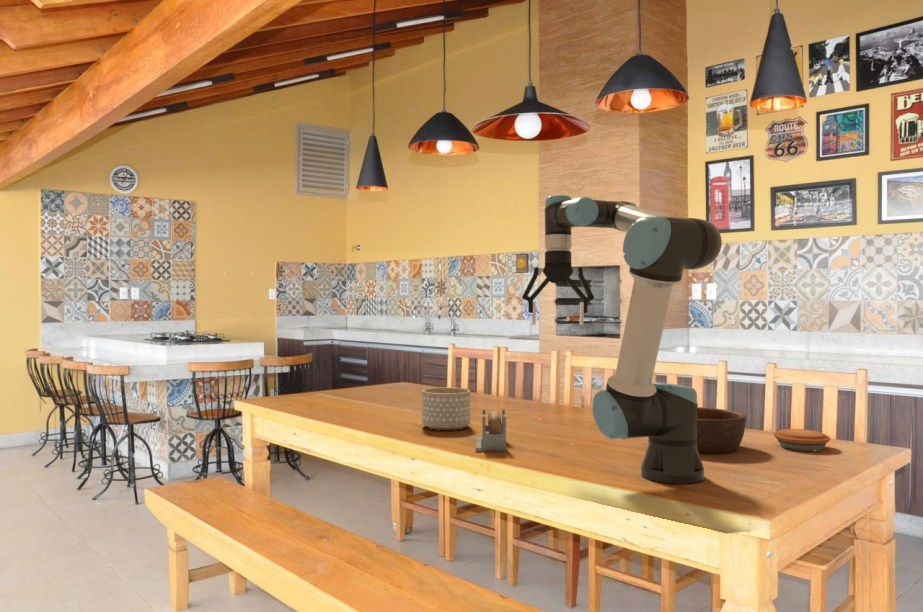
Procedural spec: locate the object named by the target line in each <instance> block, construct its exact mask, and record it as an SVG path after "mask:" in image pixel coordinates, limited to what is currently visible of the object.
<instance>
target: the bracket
mask: <svg viewBox="0 0 923 612" xmlns="http://www.w3.org/2000/svg"><path fill="white" fill-rule="evenodd" d="M501 422H502V431H501V432H500V433H499V434H497V435H494V434H491V433H490V432H489V430H488V423H486V407H482V428H481V429H482V435H481V434H480V435H479V434H478V435H476V441H475V453H482V452H506V451H507V415H506V408H501Z"/></svg>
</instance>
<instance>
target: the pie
mask: <svg viewBox="0 0 923 612" xmlns="http://www.w3.org/2000/svg"><path fill="white" fill-rule="evenodd" d="M772 435H773V436H774V437H775V439H777V442H778V443H779V445H780V447H782V448H783V447H785V448H784V449H787V448H788V449H787V450H791V449H794V450H793V451H798V450H801V452H815V451H814V450H820V451H822V450H824V448H825V447H826V445H827V443H829V441H831V437H830V436H828V435H826V434H825V433H824V432H821V431H817V430H812V429H802V428H784V429H780V430H777V431H775V432H773V433H772ZM821 449H822V450H821Z"/></svg>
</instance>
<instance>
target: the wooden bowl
mask: <svg viewBox="0 0 923 612" xmlns="http://www.w3.org/2000/svg"><path fill="white" fill-rule="evenodd" d="M746 424H747V416H746V415H745V413H741V412H738V411H734V410H729V409H724V408H713V407H698V406H697V449H698V452H699V454H700V453H701V454H727V453H732V452H734V451H736V450H737V449H739V447H740V445H741V443H742V441H743V439H744V435H745V431H746Z"/></svg>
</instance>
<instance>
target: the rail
mask: <svg viewBox="0 0 923 612" xmlns="http://www.w3.org/2000/svg"><path fill="white" fill-rule="evenodd" d="M487 424H488V430H489V432H490V433H491V434H494V435H497V434H499V433H500V432H501V431H502V414H501V413H500V412H499V411H498V410H492V411H490V412H489V413H488V416H487Z"/></svg>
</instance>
